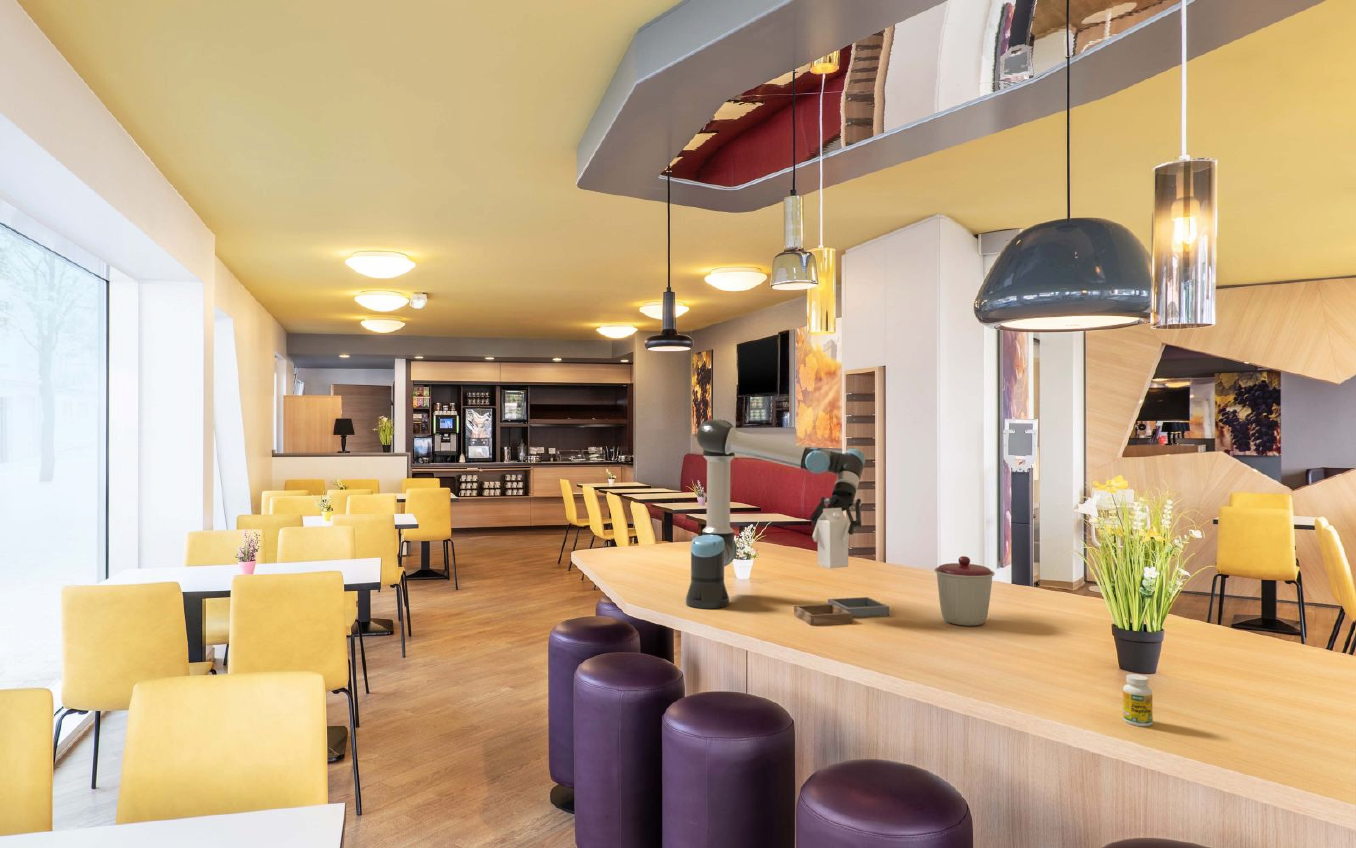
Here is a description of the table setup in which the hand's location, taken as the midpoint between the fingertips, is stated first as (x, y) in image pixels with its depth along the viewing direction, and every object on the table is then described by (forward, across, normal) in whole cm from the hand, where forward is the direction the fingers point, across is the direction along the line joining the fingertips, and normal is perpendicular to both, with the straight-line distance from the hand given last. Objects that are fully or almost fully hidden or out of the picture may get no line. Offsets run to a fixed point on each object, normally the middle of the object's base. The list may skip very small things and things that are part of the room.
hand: (829, 540), depth 257 cm
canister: (+5, -38, -32) cm, 50 cm away
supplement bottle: (+55, -87, +18) cm, 104 cm away
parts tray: (+7, -4, -29) cm, 30 cm away
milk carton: (+4, 0, -9) cm, 10 cm away
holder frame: (+19, +2, -18) cm, 26 cm away
